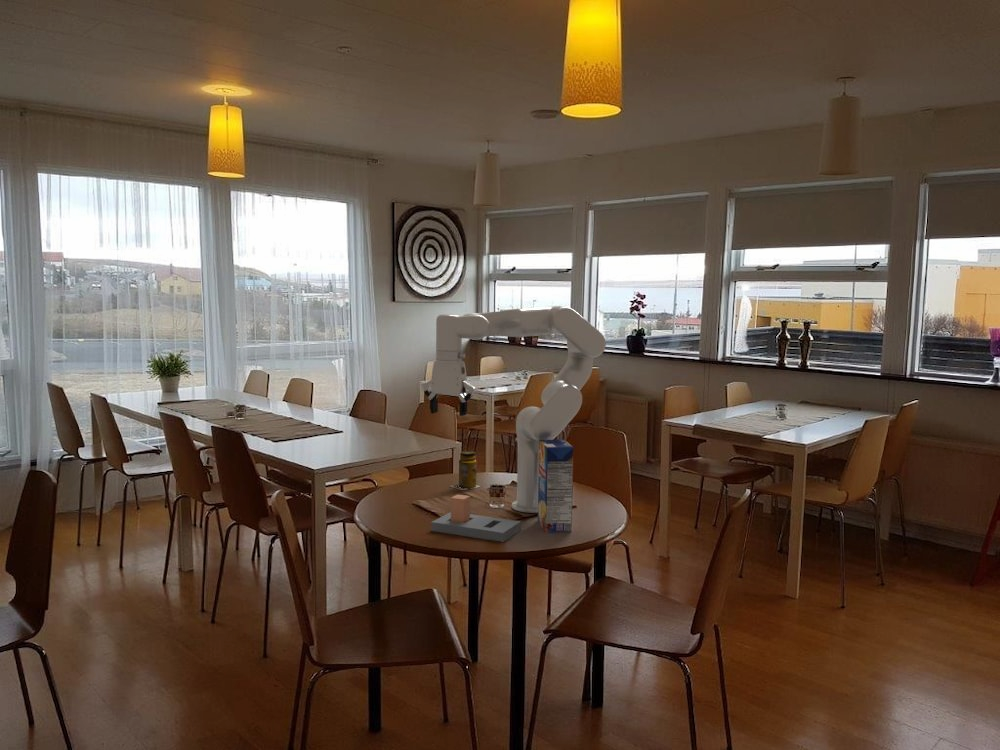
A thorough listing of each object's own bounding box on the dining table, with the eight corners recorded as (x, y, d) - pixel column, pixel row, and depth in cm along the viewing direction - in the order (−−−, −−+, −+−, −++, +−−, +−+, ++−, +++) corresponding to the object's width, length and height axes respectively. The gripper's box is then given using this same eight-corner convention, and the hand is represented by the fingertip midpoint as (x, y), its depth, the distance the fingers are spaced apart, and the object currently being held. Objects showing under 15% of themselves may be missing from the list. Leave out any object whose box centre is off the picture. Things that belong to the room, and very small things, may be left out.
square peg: (457, 525, 218) (457, 494, 217) (469, 527, 216) (470, 496, 215) (450, 529, 214) (450, 497, 213) (463, 531, 212) (463, 499, 212)
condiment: (481, 486, 264) (481, 452, 263) (463, 490, 258) (463, 455, 257) (467, 483, 269) (467, 449, 268) (449, 487, 263) (449, 452, 262)
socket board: (451, 519, 223) (451, 511, 223) (520, 530, 214) (520, 521, 214) (431, 530, 212) (431, 522, 212) (503, 541, 203) (503, 532, 203)
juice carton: (537, 520, 224) (539, 439, 221) (562, 519, 225) (564, 439, 222) (545, 532, 212) (547, 447, 210) (571, 532, 213) (573, 447, 211)
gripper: (480, 357, 225) (480, 414, 226) (429, 354, 232) (429, 410, 233) (469, 358, 218) (468, 417, 219) (416, 356, 225) (416, 413, 226)
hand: (448, 414), depth 226 cm, fingers open, 9 cm apart
